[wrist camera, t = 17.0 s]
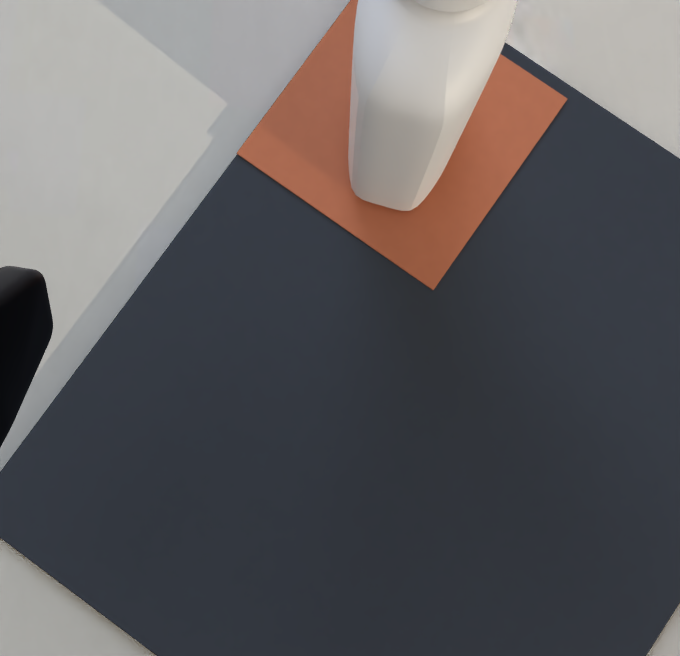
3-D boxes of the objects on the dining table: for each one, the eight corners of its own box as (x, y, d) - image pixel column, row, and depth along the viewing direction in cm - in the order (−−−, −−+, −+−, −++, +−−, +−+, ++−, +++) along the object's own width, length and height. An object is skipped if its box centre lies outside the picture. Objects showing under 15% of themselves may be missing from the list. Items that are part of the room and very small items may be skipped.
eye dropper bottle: (298, 143, 21) (245, -177, 9) (416, 31, 21) (515, -421, 9) (390, 235, 21) (462, 29, 9) (508, 119, 21) (732, -230, 9)
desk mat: (871, 292, 21) (881, 290, 21) (485, 897, 19) (488, 908, 19) (381, -35, 22) (382, -42, 22) (-27, 512, 20) (-34, 514, 20)
